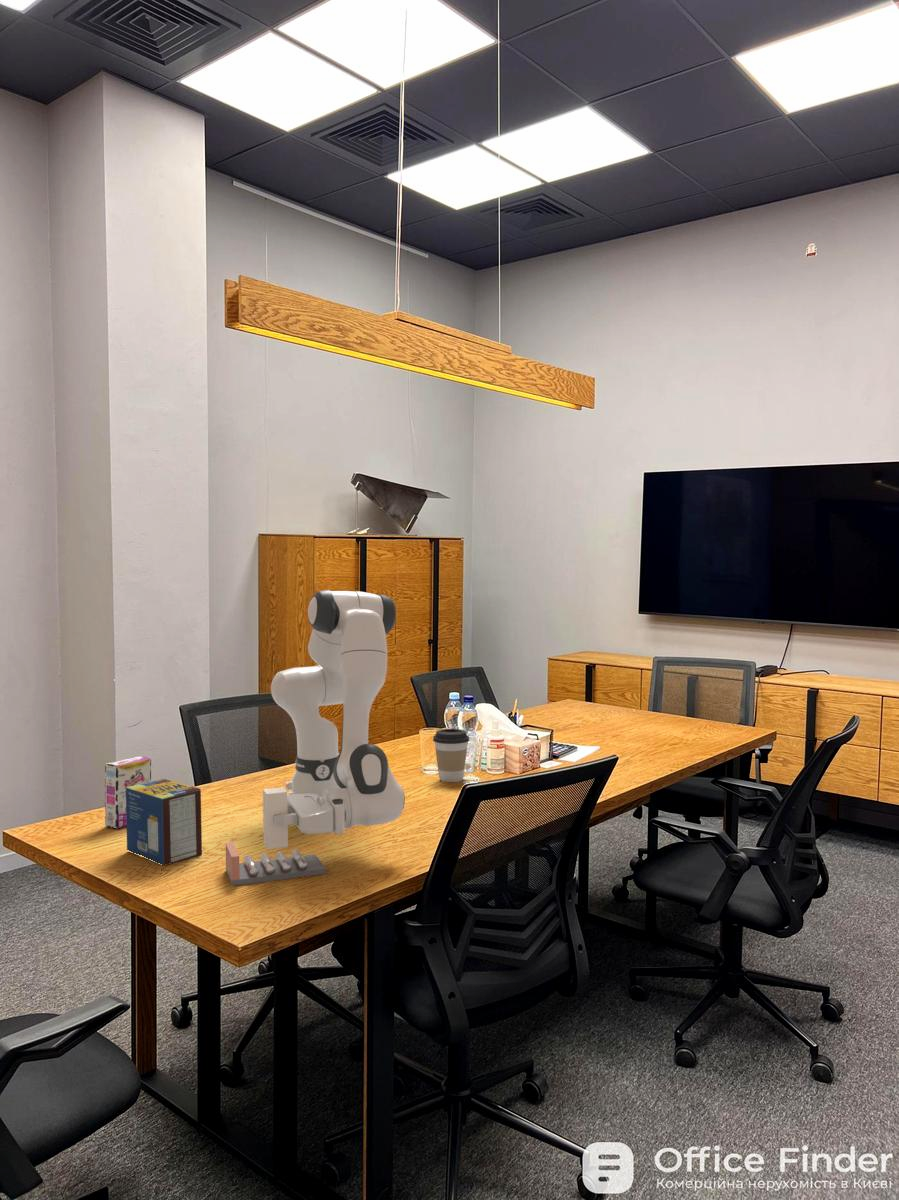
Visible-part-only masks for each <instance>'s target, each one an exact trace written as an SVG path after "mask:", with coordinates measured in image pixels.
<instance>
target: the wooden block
mask: <svg viewBox="0 0 899 1200" xmlns="http://www.w3.org/2000/svg"><path fill="white" fill-rule="evenodd" d="M287 793H288V790H286V788H285V787H282V786H281V787H272V788H263V789H262V815H263V817H262V820H263V821H262V822H263V823H262V825H263V830H262V831H263V845H264V846H265V848H266V850H272V849H282V848H289V825H288V824H275V823H274V822H273V816H274V815H275V814H282V815H286V814H288V807H287Z"/></svg>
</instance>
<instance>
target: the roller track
mask: <svg viewBox="0 0 899 1200" xmlns="http://www.w3.org/2000/svg"><path fill="white" fill-rule="evenodd" d="M290 854H291V857H286V856H285V853H284V852H283V851H282V850H281V851H277V852H276V854H275V858H274V859H270V856H269V855H268V854H267V853H265V852H263V853H262V854H260V856H259V860H258V861H254V859H253V857H252V856H251V855H249V854H248V855H246V856H245V857H244V858H243V861H244V862H242V863H240V854H239V852H238V850H237V848H236V845H235V844H234V841H228V842H225V871H226V874H227V877H228V880H229V883H230V884H231V887H235V886H237V887H238V886H242V885H243V886H245V885H251V884H258V883H265V882H273V881H274V882H275V881H280V880H283V881H284V880H290V879H297V878H298V877H299V878H305V877H304V876H306V877H311V875H314V876H319V874H322V875H326V874H327V870H326V866H324V864H323V862H321V859H320V858H319V857H318V856H317V854H316V853H315V854H308V855H303V854H301V852H300V851H299V849H293V850H292V851H291V853H290ZM299 878H298V879H299Z"/></svg>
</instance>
